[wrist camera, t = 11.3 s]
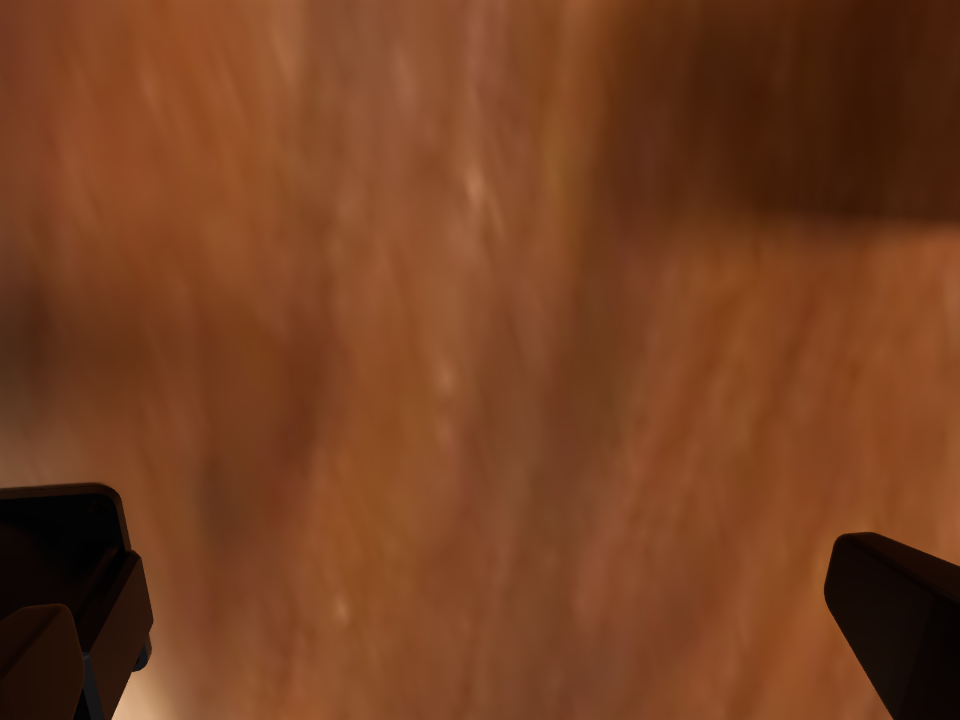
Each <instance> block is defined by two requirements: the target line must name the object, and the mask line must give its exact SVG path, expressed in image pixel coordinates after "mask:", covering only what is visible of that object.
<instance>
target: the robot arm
mask: <svg viewBox="0 0 960 720" xmlns="http://www.w3.org/2000/svg"><path fill="white" fill-rule="evenodd" d="M95 500H96V501H101V502H103V503H105V504H106V506H107V508H99V507H97V506H96V505H95V504H94V502H93V501H95ZM824 596H825V600H826V603H827V606H828V608H829V610H830V612H831V614H832V615H833V617H834V619H835V621H836V622H837V624H838V626H839V628H840V629H841V631H842V633H843V634H844V636H845V638H846V640H847V641H848V643H849V645H850V647H851V648H852V650H853V652H854V653H855V655H856V657H857V659H858V660H859V662H860V664H861V666H862V667H863V669H864V671H865V672H866V674H867V676H868V678H869V679H870V681H871V683H872V685H873V686H874V688H875V690H876V691H877V693H878V695H879V697H880V698H881V700H882V702H883V703H884V705H885V707H886V708H887V710H888V712H889V713H890V715H891V717H892V718H893V720H960V566H957V565H955V564H952V563H950V562H947V561H945V560H942V559H940V558H937V557H935V556H932V555H930V554H927V553H925V552H922V551H920V550H917V549H915V548H912V547H910V546H907V545H905V544H902V543H900V542H897V541H895V540H892V539H890V538H887V537H885V536H882V535H880V534H877V533H874V532H859V533H848V534H843V535H841V536H839V537H838V538H837V539H836V541H835V543H834V546H833V550H832V554H831V558H830V563H829V567H828V571H827V576H826V580H825V584H824ZM152 624H153V614H152V609H151V604H150V599H149V594H148V589H147V584H146V579H145V574H144V569H143V564H142V559H141V557H140V556H139V555H138V554H137V553H136V552H135V551H134V550H132V549H131V545H130V540H129V535H128V530H127V525H126V520H125V515H124V511H123V506H122V501H121V498H120V496H119V494H118V493H117V492H116V491H115V490H114V489H112V488H110V487H107V486H87V487H72V488H57V489H42V490H27V491H12V492H0V720H111V719H112V717H113V715H114V712H115V710H116V708H117V705H118V703H119V701H120V698H121V696H122V694H123V691H124V689H125V687H126V684H127V682H128V680H129V678H130V675H131V673H132V672H135V671H139V670H141V669H143V668H144V667H145V666H146V664H147V663H148V660H149V658H150V656H151V653H152V647H151V642H150V637H149V631H150V629H151V627H152Z"/></svg>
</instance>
